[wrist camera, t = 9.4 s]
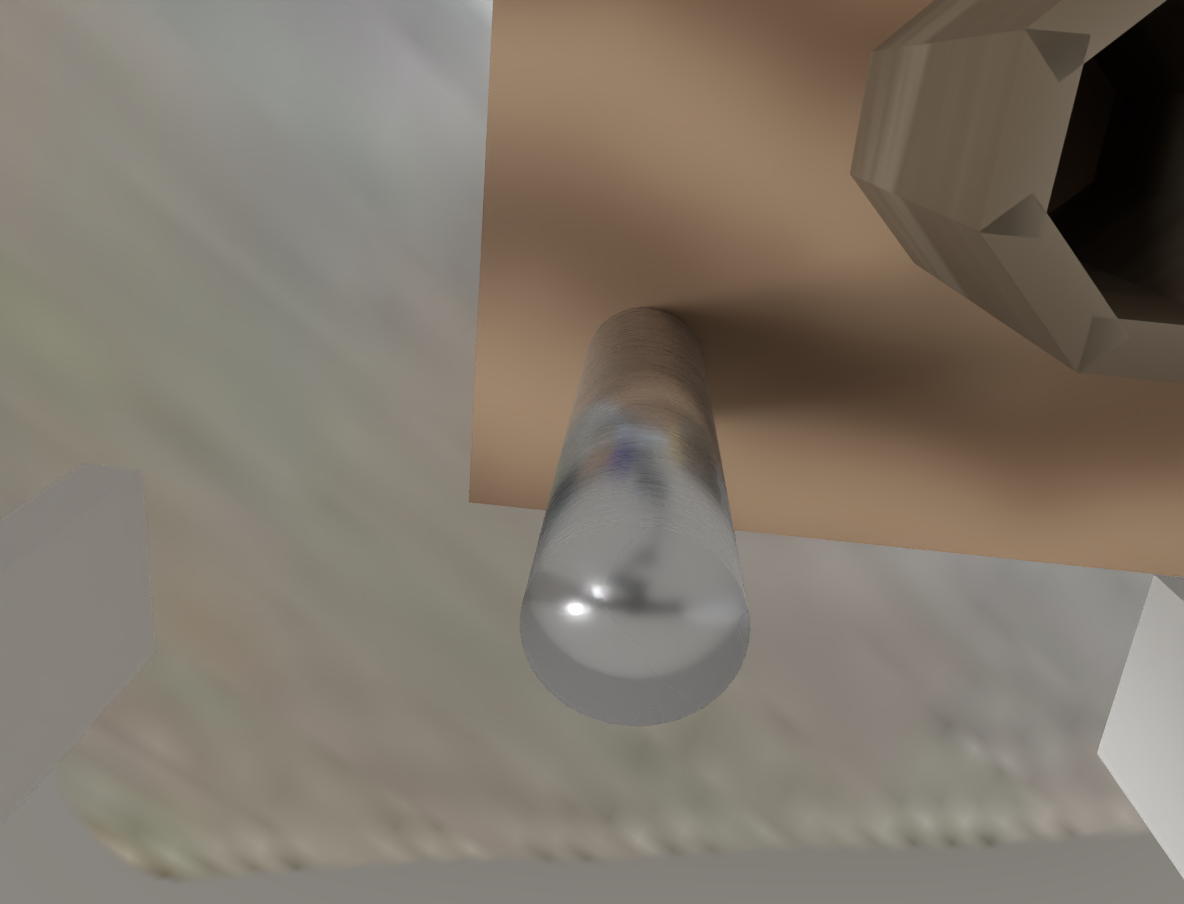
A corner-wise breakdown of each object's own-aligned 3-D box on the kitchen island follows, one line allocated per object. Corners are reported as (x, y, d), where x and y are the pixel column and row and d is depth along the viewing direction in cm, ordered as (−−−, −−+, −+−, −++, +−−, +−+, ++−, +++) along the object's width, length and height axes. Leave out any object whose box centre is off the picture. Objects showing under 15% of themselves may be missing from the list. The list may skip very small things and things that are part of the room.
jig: (541, -767, 17) (405, -1817, 8) (1575, -686, 17) (2776, -1686, 7) (476, 483, 26) (375, 718, 16) (1164, 555, 25) (1473, 838, 16)
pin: (590, 301, 23) (528, 513, 11) (710, 313, 23) (766, 538, 11) (580, 415, 24) (513, 712, 12) (695, 427, 24) (732, 736, 12)
